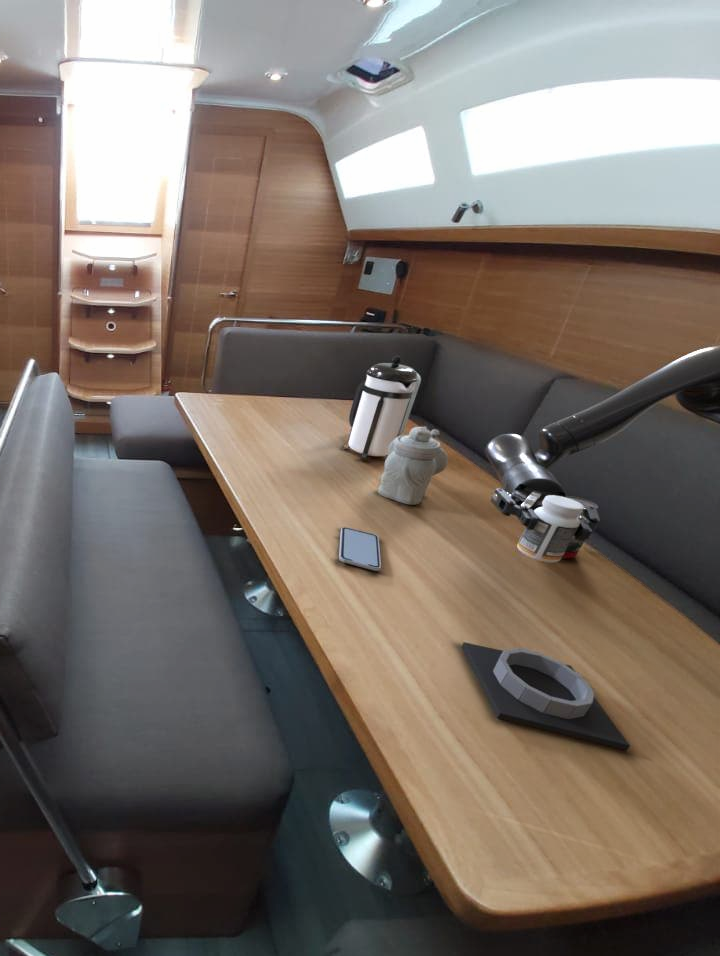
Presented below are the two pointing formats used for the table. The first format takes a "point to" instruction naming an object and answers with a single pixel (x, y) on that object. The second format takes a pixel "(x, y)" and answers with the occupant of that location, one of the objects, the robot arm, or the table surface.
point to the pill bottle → (551, 529)
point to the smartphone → (359, 548)
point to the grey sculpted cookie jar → (412, 465)
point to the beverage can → (574, 544)
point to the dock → (533, 717)
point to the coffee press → (380, 407)
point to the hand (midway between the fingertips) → (557, 529)
